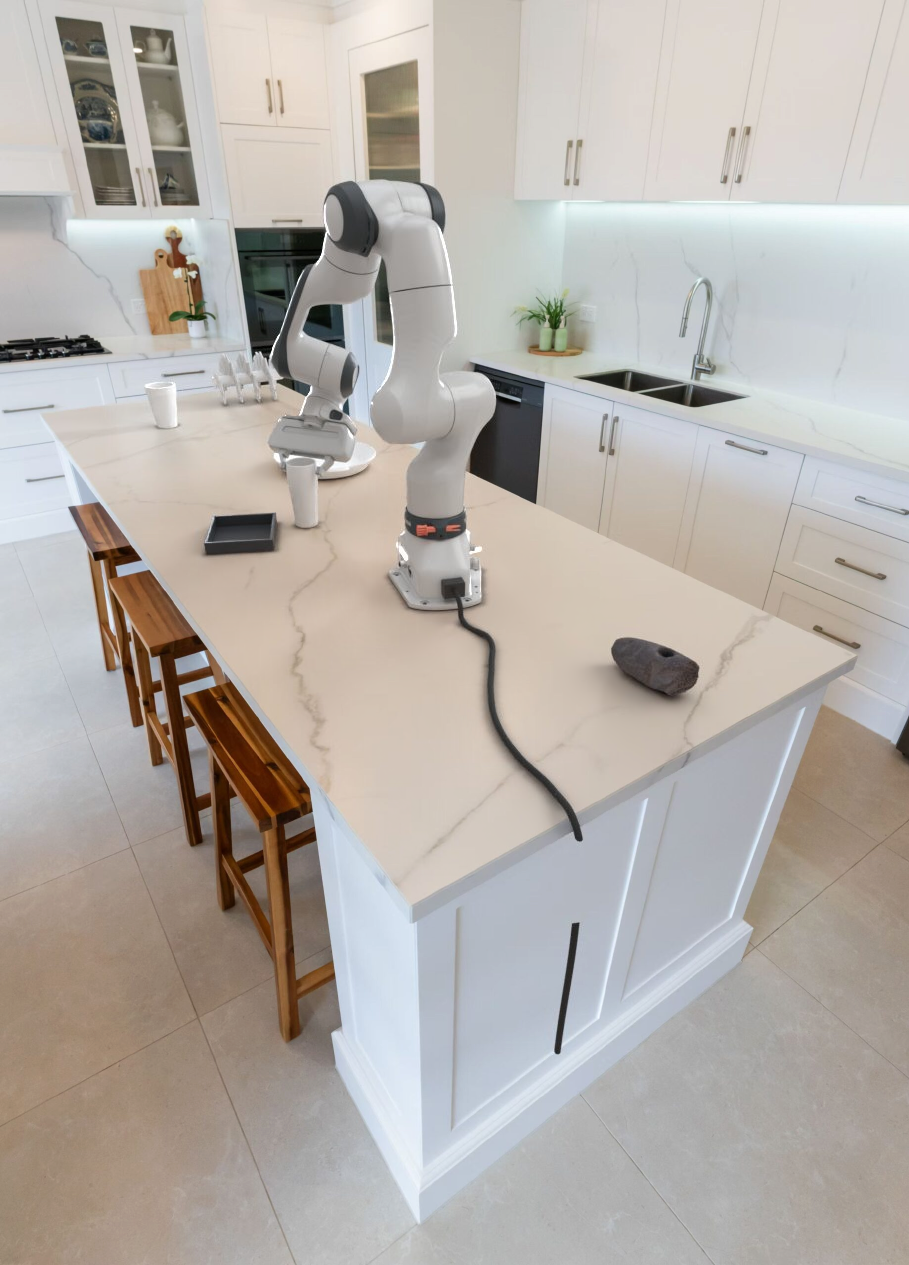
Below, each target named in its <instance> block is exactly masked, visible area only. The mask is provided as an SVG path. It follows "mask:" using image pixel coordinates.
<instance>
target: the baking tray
mask: <svg viewBox="0 0 909 1265" xmlns="http://www.w3.org/2000/svg"><path fill="white" fill-rule="evenodd" d="M277 530H278V518H277V512H260V513H258V512H257V513H239V514H224V515H223V514H221V515H212V517H211V520H210V524H209V526H208V530H207V533H206V536H205V539H204V543H203V544H204V549H205V555H206V556H212V555H226V554H228V555H229V554H244V553H247V554H248V553H262V552H275V547H276V538H277Z"/></svg>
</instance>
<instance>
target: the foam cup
mask: <svg viewBox="0 0 909 1265" xmlns="http://www.w3.org/2000/svg"><path fill="white" fill-rule="evenodd" d="M144 391H145V395H146V396H147V399H148V402H149V406H150V408H151V411H152V414H153V417H154V419H155V420H154V421H155V423H156V426H157V428H159V429H173V428H176V427H178V405H177V404H178V402H177V385H176V383H175V382H171V381H157V382H150V383H146V384H145V385H144Z"/></svg>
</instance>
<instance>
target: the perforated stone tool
mask: <svg viewBox="0 0 909 1265" xmlns="http://www.w3.org/2000/svg"><path fill="white" fill-rule="evenodd" d="M610 654H611V657H612V659H613V661H614V662H615V664H616V665H617V666H618V668H619V669H621V670H622V671H623V672H624V673H626V674H627V675H628V676H631V677H633V678H634V679H635V680H637V681H638V682H639V683H641V684H644V685H645V686H647V687H648V688H650V689H652V690H655V691H660V692H663V693H666V695H667V696H671V697H672V696H675V695H678V694H684V693H686V692H688V691H689V690H692V688H693V687H695V685H696V684H697V682H698V679H699V678H700V676H699V671H700V665H699V664H698V662H696V661H695V660H693V659H691V657H688V656H686V655H684V654H683V653H680V652H679V651H677V650H675V649H673V648H670V647H667V646H665V645H662V644H659V643H657V642H652V641H650V640H646V639H642V638H637V637H630V636H627V637H620V638H616V639H615V641H614V642H613V644H612V646H611V648H610Z"/></svg>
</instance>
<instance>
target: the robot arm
mask: <svg viewBox="0 0 909 1265" xmlns="http://www.w3.org/2000/svg"><path fill="white" fill-rule="evenodd" d="M322 219H323V226H324V230H325V235H324V239H323V245H322V251H321V255H320V257H319V258H318V260H317V261H316V262H315V263H310V264H307V265H306V266H305V267H304V269H303V270H302V272H301V274H300V276H299V278H298V280H297V282H296V285H295V287H294V290H293V294H292V296H291V299H290V301H289V305H288V308H287V310H286V314H285V317H284V320H283V323H282V326H281V329H280V332H279V334H278V336H277V337H276V339H275V341H274V343H273V346H272V350H271V353H272V354H271V353H270V354H271V363H272V365H273V367H274V368H275V370H276V371H277V373H278V374H279V375H280V376H281V377H283V379H288V380H292V381H298V382H300V383H302V384H303V383H304V384H305V385H309V386H310V391H309V392H308V394H307V395H306V396H305V399H304V402H303V405H302V407H301V409H300V413H299V415H291V414H285V415H283V416H281V417H279V418H278V419H277V421H276V424H275V426H274V427H273V429H272V431H271V433H270V434H269V437H268V440H267V444H268V447H269V448H270V450H272V451H273V452H274V453H279V457H280V461H281V462H280V465H279V464H278V470H279V471H280V472H285V473H286V458H287V459H288V458H289V455H294V456H301V457H309V458H316V459H323V460H325V462H324V463H323V464H322V465H321V466H320V467H318V466H317V468H316V471H315V474H316V475H317V476H318V477H324V476H325V473H326V471H327V470H328V469H329V468H330V467H331V466H333V464H334V461H337V462H344V463H346V462H348V461H349V460H350V459H351V457H352V455H353V451H354V447H355V441H356V437H355V436H356V435H357V433H358V428H357V426H356V424H355V423H354V421H353V420H352V418H350V416H349V415H348V414H347V413H346V412H344V405H345V403H346V402H347V400H348V398H349V397H350V396H351V395H353V393H354V390H355V387H356V384H357V381H358V379H359V376H360V365H359V362H358V360H357V357H356V356H355V355H354V354H353V352H352V351H350V350H348V349H346V348H344V347H341V346H340V345H339V346H338V345H336V344H334V343H333V344H332V343H329V342H326V341H323V340H321V339H318V338H315V337H312V336H309V335H308V334H307V333H306V332H305V331H304V330H303V329H304V326H305V324H306V321H307V318H308V316H309V312H310V310H311V309H312V307H315V306H321V305H340V306H341V305H350V304H355V303H357V302H360V301H362V300H364V299H365V298H367V296H368V295H369V294H371V293H372V291H373V289H374V287H375V284H376V282H377V279H378V275H379V272H380V267H381V263H382V260H383V262H384V265H385V270H386V271H385V272H386V282H387V283H386V284H387V290H388V297H389V298H388V299H389V307H390V316H391V325H392V337H393V339H392V342H393V343H392V354H391V360H390V364H389V366H388V370H387V373H386V375H385V378H384V380H383V382H382V383H381V385H380V386H379V388H378V389H377V390H376V391H375V392H374V394H373V396H372V399H371V400H370V401H371V402H370V406H369V417H370V422H371V425H372V427H373V430H374V431H375V433H376V434H377V436H378V437H379V438H380V439H381V440H382V441H384V442H385V443H387V444H390V445H415V444H420V443H423V445H422V448H421V449H420V451H419V452H418V454H417V455H416V456H415V457H414V458H413V459H412V460H411V462H410V463H409V464H408V465H407V469H406V474H405V483H406V485H405V487H406V506H405V507H404V515H403V519H404V527H405V528H404V530H403V531H402V533H400V534H399V535H398V537H397V542H396V548H397V566H396V567H395V568H392V569H391V570H389V572H388V577H389V579H390V580H391V582H392V584H393V585H394V586H395V588H396V589H397V591H398V592H399V594H400V595H401V597H402V598H403V600H404V601H405V603H406V605H407V606H408V607H409V608H411V609H415V610H420V611H421V610H423V611H446V610H448V611H449V610H457V616H458V620H459V622H460V624H461V625H462V626H463V628H465V629H466V630H468V631H470V632H472V633H473V634H475V635H478V636H481V637H483V638H484V639H485V640H486V641H487V642H488V645H489V654H488V672H487V702H488V709H489V713H490V717H491V721H492V723H493V726H494V728H495V730H496V732H497V734H498V736H499V738H500V740H501V741H502V743H503V744H504V746H505V747H506V748H507V750H508V751H509V752H510V754H511V755H512V756H513V757H514V759H515V760H516V761H517V762H518V763H519V764H520V765H521V766H522V767H523V768H524V769H525V770H526V771H527V772H529V774H531V775H532V776H533V777H534V778H535V779H537V780H538V781H539V783H541V784H542V785H543V786H544V787H545V789H547V791H548V792H549V793H550V795H552V797H553V798H554V799H555V800H556V802H558V804H559V805H560V806H561V808H562V809H563V811H564V812H565V814H566V816H567V818H568V819H569V822H570V825H571V829H572V832H573V837H574V839H575V841H576V842H579V843H580V842H582V841H583V840H584V837H583V833H582V829H581V825H580V822H579V819H578V817H577V814H576V812H575V810H574V808H573V807H572V805H571V804H570V802H569V801H568V800H567V798H566V797H565V796H564V795H563V794H562V792H560V790H559V789H558V788H557V787H556V786H555V785H554V784H553V782H552V781H551V780H550V779H548V777H547V776H545V774H544V773H542V772H541V771H540V770H539V769H538V768H536V767H535V766H534V765H533V764H532V763H531V762H530V761H529V760H527V759H526V758H525V757H524V756H523V754H522V753H521V752H520V751H519V749H518V748H517V747H516V746H515V745H514V743H513V742H512V741H511V739H510V738H509V736H508V735H507V733H506V731H505V729H504V728H503V725H502V723H501V721H500V719H499V715H498V713H497V708H496V701H495V700H496V699H495V690H494V689H495V688H494V682H495V671H496V670H495V667H496V666H495V661H496V643H495V640H494V639H493V637H492V635H490V633H488V632H487V631H484V630H482V629H480V628H477V627H474V626H472V625H470V624H469V622H467V620H466V618H465V615H464V609H465V608H470V607H472V606H475V605H478V604H480V603H482V567H481V565H480V558H479V557H472V554H474V553H479V552H482V547H481V546H478V547H476V544H473V543H472V532H471V531H470V530H469V529H467V520H468V519H467V510H466V506H465V485H466V484H465V483H466V473H467V466H468V462H469V460H470V456H471V453H472V450H473V448H474V445H475V443H476V440H477V439H478V436H480V435H479V434H480V433H481V432H482V430H483V428H484V427H485V426H486V425H487V423H489V422H490V421H491V419H492V418H493V417H494V414H495V412H496V411H495V410H496V406H497V398H496V397H497V395H496V390H495V388H494V386H493V383H492V382H491V380H490V379H489V378H488V377H487V376H486V375H484V374H483V373H481V372H474V371H468V370H455V371H449V372H443V373H440V366H441V361H442V358H443V355H444V353H445V351H446V350H447V349H448V348H449V347H450V346H451V345H452V344H453V342H454V341H455V339H456V337H457V333H458V322H457V312H456V304H455V293H454V286H453V277H452V270H451V265H450V264H451V263H450V259H449V255H448V251H447V246H446V242H445V239H444V236H443V235H444V233H445V229H446V224H447V211H446V206H445V202H444V200H443V196H442V195H441V193H440V191H439V190H438V189H437V188H436V187H434V186H433V185H430V184H428V183H424V182H419V181H414V182H407V181H400V180H388V179H384V178H381V179H367V180H360V181H353V180H347V181H342V182H339V183H336V184H334V185H332V186H331V187H330V188H329V189H328V191H327V193H326V195H325V198H324V200H323V207H322ZM580 924H581V922H573V923H571V926H570V937H569V945H568V951H567V952H568V953H567V958H566V960H567V961H566V967H565V973H564V978H563V980H564V981H563V987H562V993H561V999H560V1004H559V1005H560V1006H559V1013H558V1018H557V1025H556V1032H555V1039H554V1042H555V1043H554V1049H553V1052H554V1054H555V1055H560V1054H561V1052H562V1045H563V1037H564V1031H565V1024H566V1018H567V1012H568V1007H569V1006H568V1004H569V1000H570V993H571V987H572V981H573V976H574V969H575V962H576V955H577V947H578V940H579V933H580Z"/></svg>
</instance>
